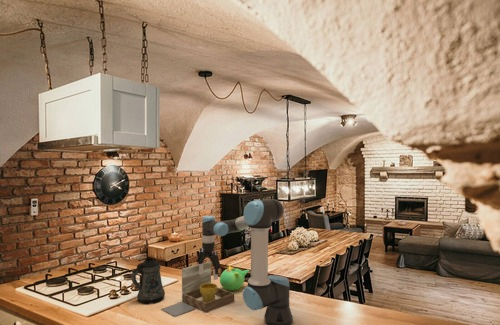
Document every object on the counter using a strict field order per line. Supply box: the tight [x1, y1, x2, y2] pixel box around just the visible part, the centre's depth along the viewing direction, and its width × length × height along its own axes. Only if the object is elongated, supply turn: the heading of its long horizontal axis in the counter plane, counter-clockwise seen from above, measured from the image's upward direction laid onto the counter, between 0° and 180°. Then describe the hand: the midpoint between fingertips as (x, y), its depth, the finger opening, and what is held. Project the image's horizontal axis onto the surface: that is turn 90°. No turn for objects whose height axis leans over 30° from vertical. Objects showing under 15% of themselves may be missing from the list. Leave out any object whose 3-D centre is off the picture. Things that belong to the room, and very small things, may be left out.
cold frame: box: [181, 261, 235, 314], centre depth 208 cm, size 23×22×20 cm
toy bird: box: [219, 266, 251, 291], centre depth 229 cm, size 18×17×15 cm
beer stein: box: [130, 257, 166, 305], centre depth 212 cm, size 16×19×25 cm
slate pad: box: [160, 301, 197, 318], centre depth 197 cm, size 14×14×1 cm
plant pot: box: [200, 282, 218, 303], centre depth 208 cm, size 10×10×10 cm
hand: (208, 276), depth 208 cm, fingers open, 13 cm apart
